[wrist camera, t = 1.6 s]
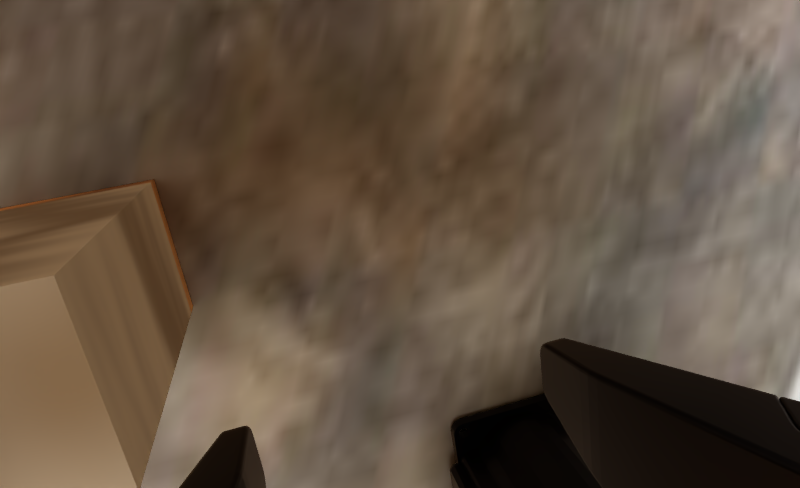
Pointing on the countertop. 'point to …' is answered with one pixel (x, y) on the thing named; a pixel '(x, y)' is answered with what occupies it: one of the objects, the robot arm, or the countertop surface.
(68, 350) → the birch block
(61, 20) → the countertop surface
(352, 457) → the countertop surface
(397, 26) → the countertop surface
